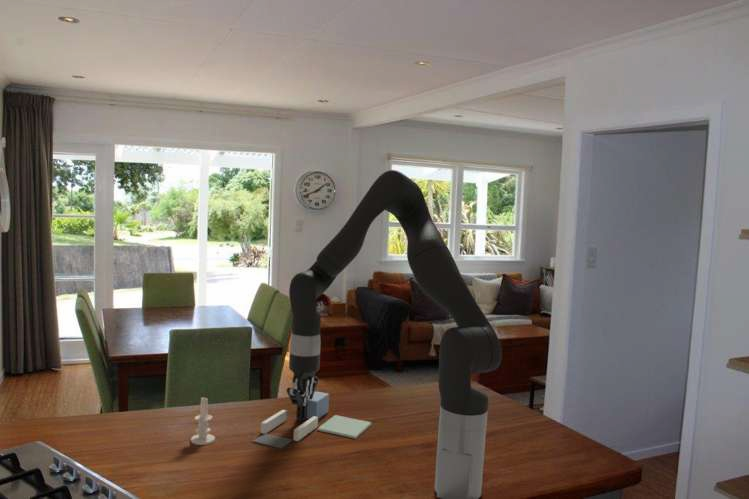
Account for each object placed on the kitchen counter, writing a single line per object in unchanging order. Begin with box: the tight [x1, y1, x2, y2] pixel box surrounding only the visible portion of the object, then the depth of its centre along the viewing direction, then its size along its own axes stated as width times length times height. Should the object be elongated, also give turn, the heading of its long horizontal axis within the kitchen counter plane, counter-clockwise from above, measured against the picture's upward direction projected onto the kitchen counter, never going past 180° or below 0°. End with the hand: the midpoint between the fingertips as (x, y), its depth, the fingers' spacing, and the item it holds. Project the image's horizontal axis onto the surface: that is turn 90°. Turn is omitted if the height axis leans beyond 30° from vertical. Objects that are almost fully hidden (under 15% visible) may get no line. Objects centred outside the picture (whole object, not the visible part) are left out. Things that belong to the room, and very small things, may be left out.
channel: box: [252, 409, 319, 450], centre depth 144 cm, size 16×10×2 cm, turn 159°
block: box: [306, 390, 330, 420], centre depth 158 cm, size 7×5×5 cm
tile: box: [317, 414, 372, 440], centre depth 150 cm, size 10×10×1 cm
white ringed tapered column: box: [190, 395, 216, 446], centre depth 137 cm, size 5×5×10 cm
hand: (301, 418), depth 152 cm, fingers closed
